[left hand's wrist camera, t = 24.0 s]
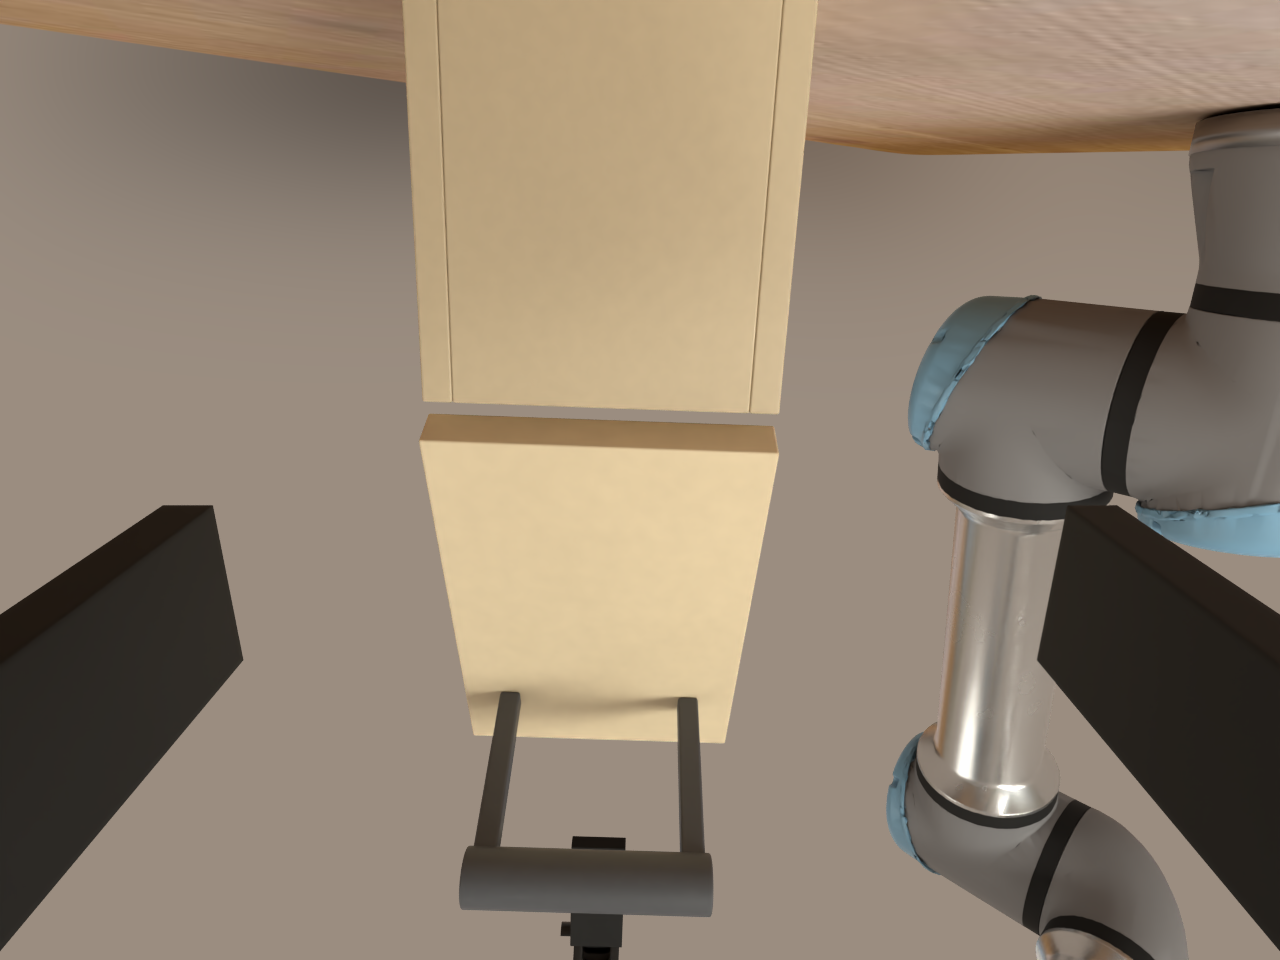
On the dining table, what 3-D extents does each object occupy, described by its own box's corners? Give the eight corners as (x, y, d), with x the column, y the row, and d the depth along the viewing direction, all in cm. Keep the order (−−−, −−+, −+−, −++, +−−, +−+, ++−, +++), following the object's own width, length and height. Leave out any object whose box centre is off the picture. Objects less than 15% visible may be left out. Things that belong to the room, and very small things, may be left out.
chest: (749, 48, 30) (728, 338, 33) (497, 37, 30) (503, 330, 33) (824, -62, 18) (779, 414, 21) (396, -80, 18) (422, 402, 21)
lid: (722, 715, 31) (739, 950, 25) (478, 707, 31) (433, 941, 25) (774, 425, 22) (821, 681, 16) (428, 413, 22) (336, 665, 15)
